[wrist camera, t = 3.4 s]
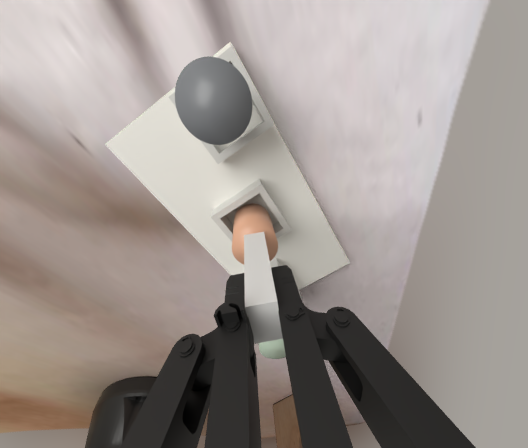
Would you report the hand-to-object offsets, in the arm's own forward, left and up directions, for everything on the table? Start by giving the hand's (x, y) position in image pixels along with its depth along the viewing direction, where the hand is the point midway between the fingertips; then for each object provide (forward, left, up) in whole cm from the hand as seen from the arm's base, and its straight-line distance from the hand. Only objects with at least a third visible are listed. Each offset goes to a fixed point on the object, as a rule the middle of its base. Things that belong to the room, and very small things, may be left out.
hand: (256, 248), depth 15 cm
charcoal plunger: (+3, +9, -3) cm, 10 cm away
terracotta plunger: (0, 0, -5) cm, 5 cm away
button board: (0, 0, -8) cm, 8 cm away
